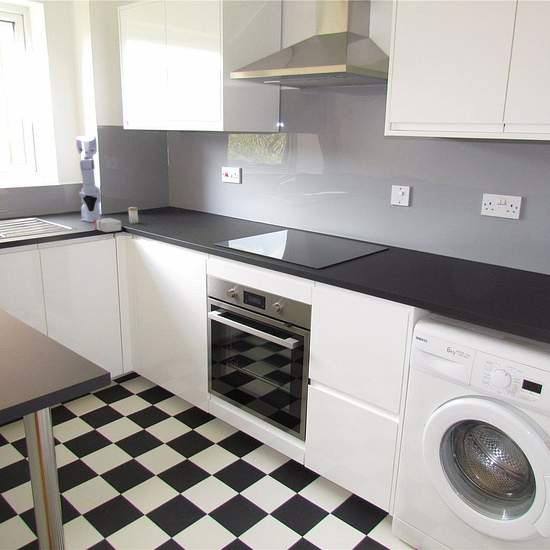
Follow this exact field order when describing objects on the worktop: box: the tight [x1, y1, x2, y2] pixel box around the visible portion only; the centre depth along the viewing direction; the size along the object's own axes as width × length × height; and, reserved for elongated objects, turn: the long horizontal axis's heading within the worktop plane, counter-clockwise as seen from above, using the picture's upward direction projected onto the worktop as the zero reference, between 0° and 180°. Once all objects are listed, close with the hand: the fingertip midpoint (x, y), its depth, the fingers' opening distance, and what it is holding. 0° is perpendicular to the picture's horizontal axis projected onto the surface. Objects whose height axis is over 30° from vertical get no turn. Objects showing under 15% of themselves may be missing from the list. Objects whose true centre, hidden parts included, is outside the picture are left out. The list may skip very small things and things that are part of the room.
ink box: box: [93, 217, 122, 233], centre depth 258 cm, size 8×5×12 cm
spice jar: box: [127, 206, 139, 224], centre depth 279 cm, size 5×5×8 cm
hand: (91, 211), depth 266 cm, fingers closed
